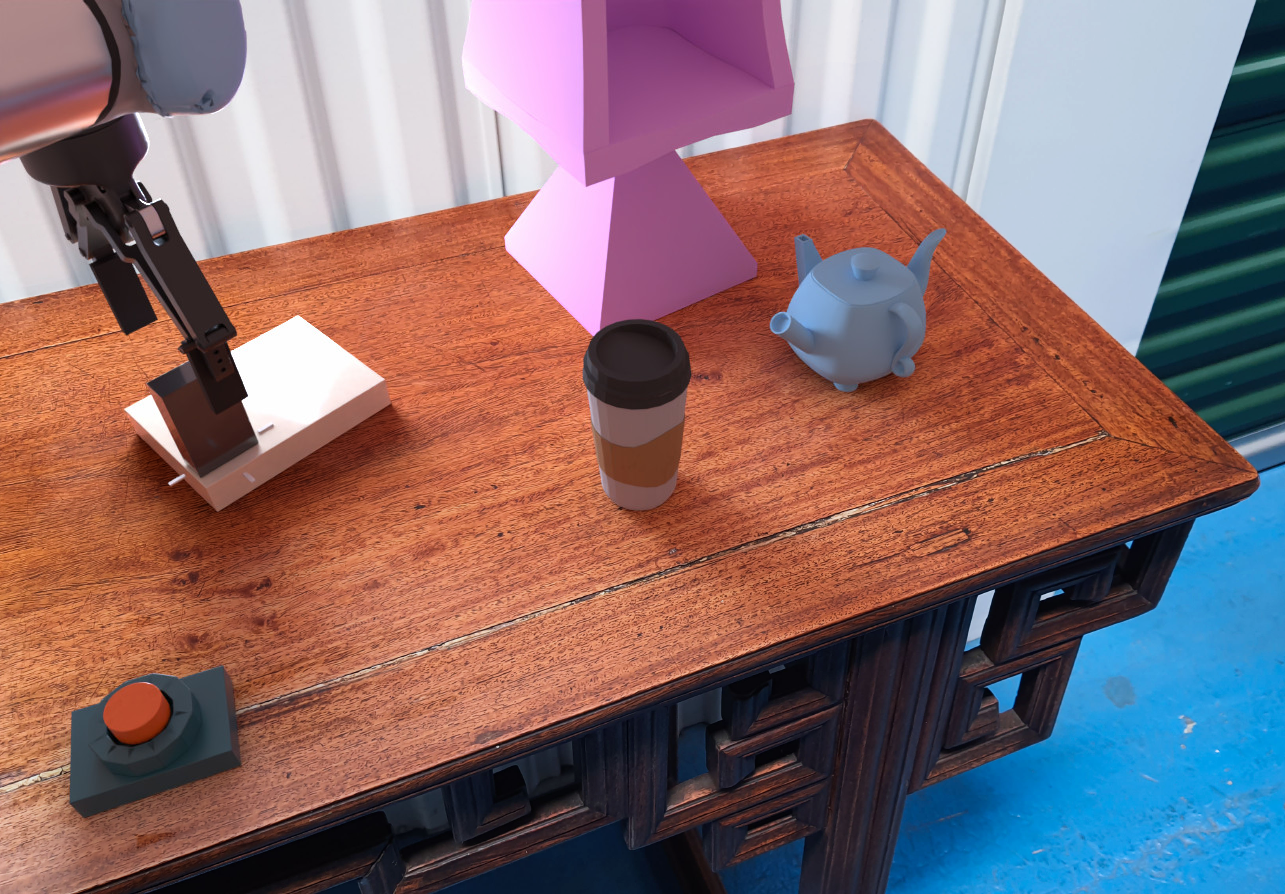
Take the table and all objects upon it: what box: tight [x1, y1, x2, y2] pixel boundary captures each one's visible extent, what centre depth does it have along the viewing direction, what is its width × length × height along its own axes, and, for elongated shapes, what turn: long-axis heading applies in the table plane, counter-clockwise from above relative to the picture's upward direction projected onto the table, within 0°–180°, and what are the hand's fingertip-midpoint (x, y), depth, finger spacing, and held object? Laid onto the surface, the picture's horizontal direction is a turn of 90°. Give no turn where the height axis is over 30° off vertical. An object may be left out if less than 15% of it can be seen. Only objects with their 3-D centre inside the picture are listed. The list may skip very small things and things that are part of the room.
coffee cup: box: [582, 319, 693, 512], centre depth 79 cm, size 8×8×15 cm
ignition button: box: [103, 682, 171, 745], centre depth 65 cm, size 4×4×2 cm
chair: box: [461, 0, 796, 338], centre depth 91 cm, size 22×22×45 cm
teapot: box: [769, 227, 947, 393], centre depth 92 cm, size 15×14×11 cm
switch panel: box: [123, 315, 392, 513], centre depth 89 cm, size 20×16×3 cm
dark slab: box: [145, 360, 259, 478], centre depth 80 cm, size 6×2×9 cm, turn 137°
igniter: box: [68, 664, 242, 819], centre depth 67 cm, size 10×7×4 cm
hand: (183, 363), depth 77 cm, fingers open, 13 cm apart
